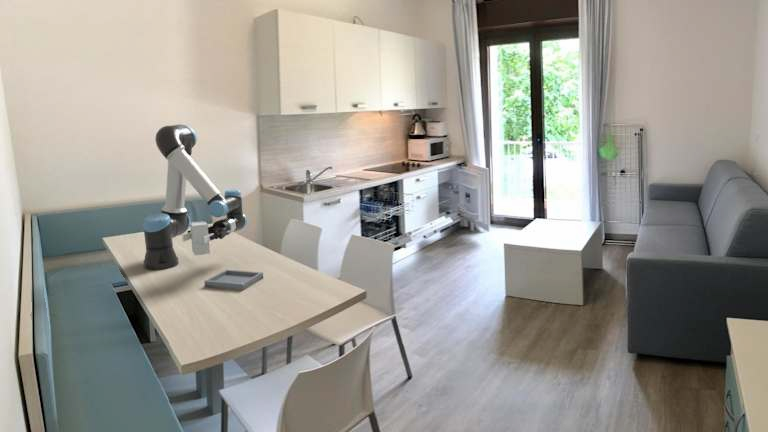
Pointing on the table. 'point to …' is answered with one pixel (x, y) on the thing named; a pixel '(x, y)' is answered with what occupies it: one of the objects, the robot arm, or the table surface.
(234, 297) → the table surface
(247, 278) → the tray
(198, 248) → the small box
